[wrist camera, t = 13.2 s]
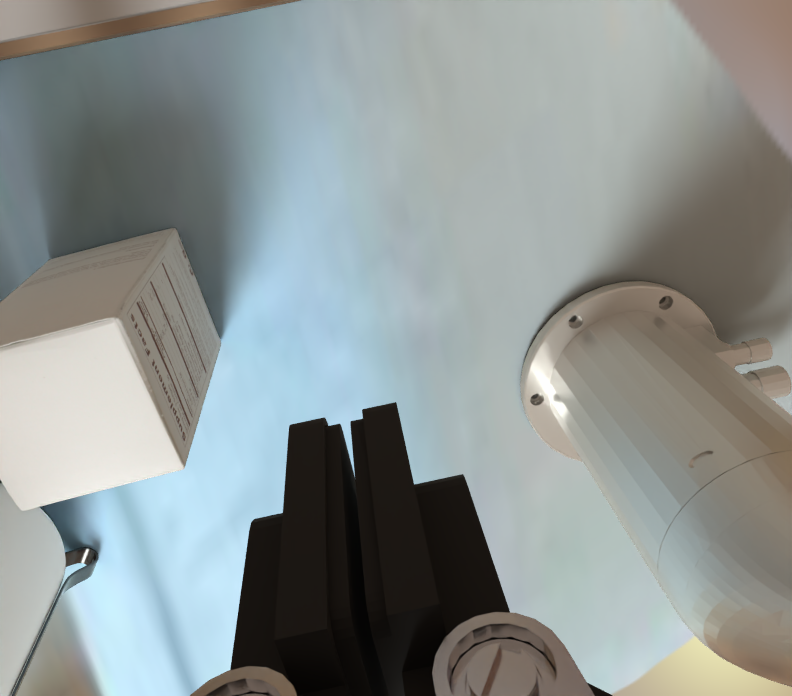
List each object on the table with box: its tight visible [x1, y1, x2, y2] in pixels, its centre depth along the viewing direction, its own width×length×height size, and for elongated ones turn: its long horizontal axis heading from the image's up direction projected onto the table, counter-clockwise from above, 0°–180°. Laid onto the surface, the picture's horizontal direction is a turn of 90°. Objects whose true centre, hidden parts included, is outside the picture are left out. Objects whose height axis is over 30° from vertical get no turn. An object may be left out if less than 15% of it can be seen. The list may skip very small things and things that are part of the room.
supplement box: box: [0, 228, 221, 511], centre depth 31 cm, size 7×7×13 cm
